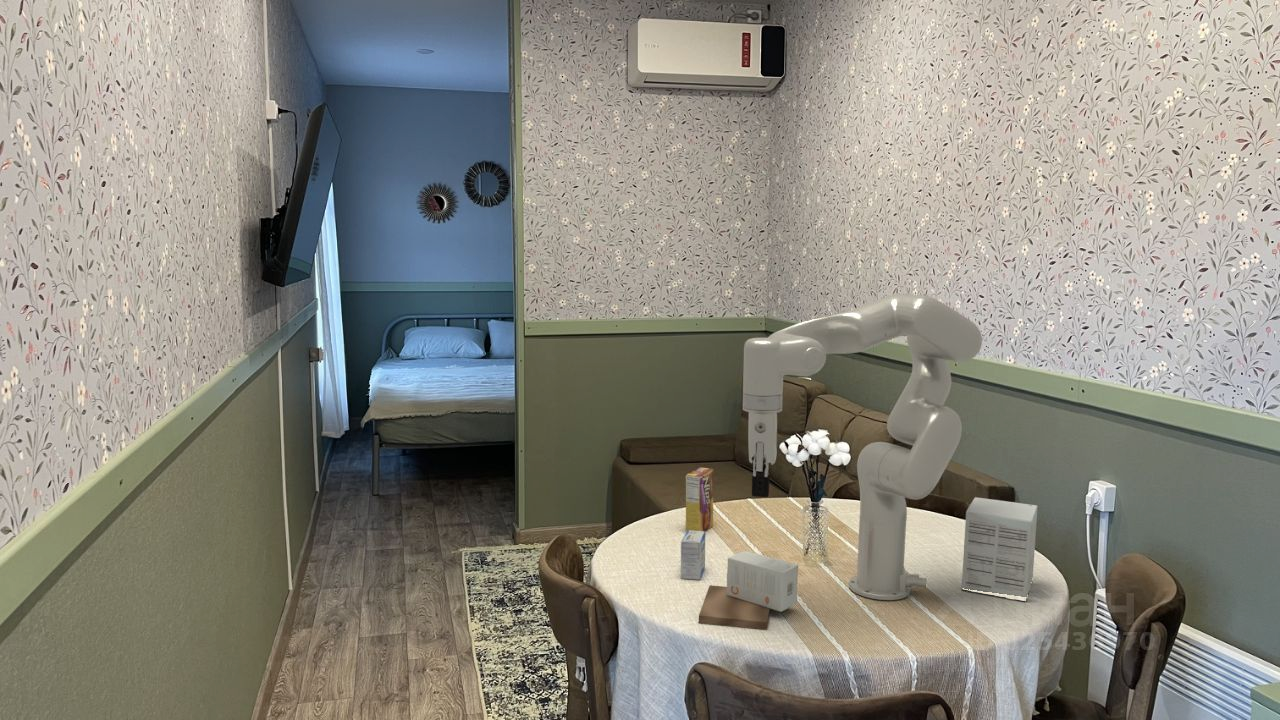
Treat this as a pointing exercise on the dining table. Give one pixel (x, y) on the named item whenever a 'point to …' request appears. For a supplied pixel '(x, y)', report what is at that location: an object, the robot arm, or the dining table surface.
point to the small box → (762, 580)
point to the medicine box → (693, 555)
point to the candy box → (699, 500)
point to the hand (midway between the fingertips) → (760, 495)
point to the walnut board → (732, 610)
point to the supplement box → (999, 547)
